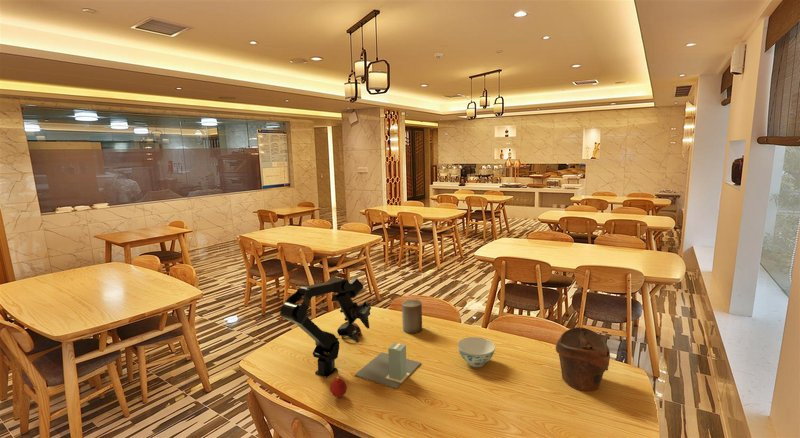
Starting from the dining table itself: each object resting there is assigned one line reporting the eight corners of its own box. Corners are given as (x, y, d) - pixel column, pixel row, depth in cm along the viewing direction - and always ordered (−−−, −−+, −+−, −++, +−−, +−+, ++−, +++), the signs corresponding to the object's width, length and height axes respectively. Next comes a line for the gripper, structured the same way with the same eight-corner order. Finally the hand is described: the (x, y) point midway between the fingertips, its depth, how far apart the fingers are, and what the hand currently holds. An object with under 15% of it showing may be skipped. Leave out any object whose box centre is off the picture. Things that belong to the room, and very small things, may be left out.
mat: (396, 388, 145) (396, 387, 145) (354, 375, 155) (354, 374, 155) (421, 363, 162) (421, 362, 162) (381, 353, 172) (381, 351, 172)
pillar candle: (425, 327, 196) (425, 298, 194) (416, 335, 188) (415, 305, 186) (408, 324, 201) (408, 295, 199) (398, 331, 193) (397, 301, 191)
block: (400, 380, 150) (400, 350, 148) (389, 377, 152) (388, 347, 150) (406, 373, 154) (405, 344, 152) (394, 371, 156) (394, 342, 154)
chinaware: (495, 374, 154) (495, 355, 152) (456, 371, 157) (456, 352, 155) (494, 355, 168) (494, 338, 167) (458, 352, 171) (458, 335, 170)
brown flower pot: (579, 402, 135) (582, 352, 133) (543, 372, 154) (545, 328, 152) (622, 393, 140) (626, 345, 137) (582, 365, 159) (585, 323, 156)
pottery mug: (364, 339, 186) (355, 328, 182) (346, 349, 186) (337, 337, 183) (362, 323, 197) (354, 312, 193) (345, 332, 197) (336, 320, 193)
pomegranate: (339, 390, 145) (338, 370, 144) (350, 396, 141) (349, 375, 140) (327, 398, 141) (326, 377, 139) (338, 404, 137) (337, 383, 136)
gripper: (349, 315, 152) (367, 348, 156) (372, 288, 168) (388, 319, 171) (328, 319, 158) (346, 350, 162) (352, 293, 173) (368, 322, 177)
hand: (363, 335), depth 168 cm, fingers open, 9 cm apart
